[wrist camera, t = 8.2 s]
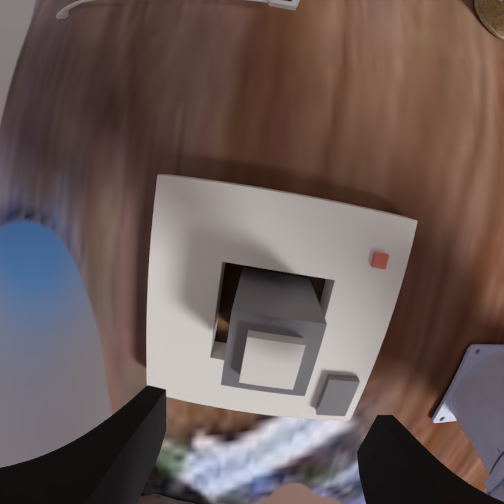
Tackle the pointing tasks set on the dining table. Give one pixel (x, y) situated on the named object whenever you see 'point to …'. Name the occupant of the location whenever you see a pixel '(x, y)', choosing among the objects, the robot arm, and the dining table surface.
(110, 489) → the robot arm
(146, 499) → the ceramic pitcher
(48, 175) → the dining table surface
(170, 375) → the socket plate
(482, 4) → the sprinkles bottle
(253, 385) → the plug
